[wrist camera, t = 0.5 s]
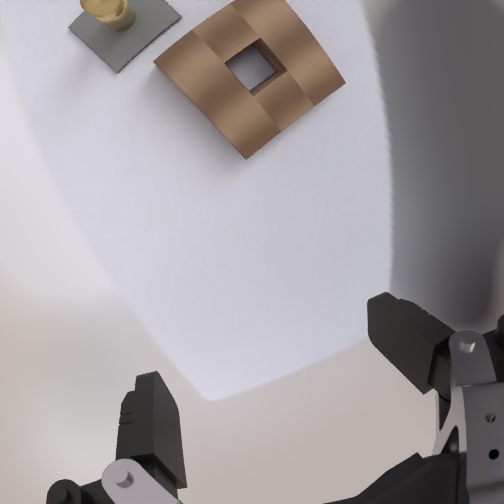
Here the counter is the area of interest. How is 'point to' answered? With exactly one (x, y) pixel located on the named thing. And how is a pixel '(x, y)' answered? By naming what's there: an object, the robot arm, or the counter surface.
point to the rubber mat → (125, 31)
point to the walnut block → (268, 91)
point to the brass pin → (111, 12)
